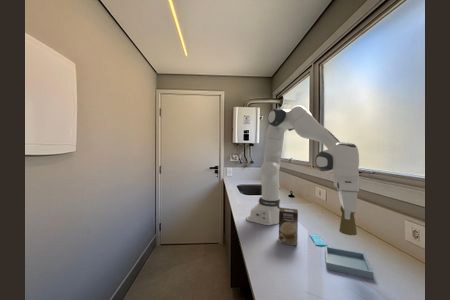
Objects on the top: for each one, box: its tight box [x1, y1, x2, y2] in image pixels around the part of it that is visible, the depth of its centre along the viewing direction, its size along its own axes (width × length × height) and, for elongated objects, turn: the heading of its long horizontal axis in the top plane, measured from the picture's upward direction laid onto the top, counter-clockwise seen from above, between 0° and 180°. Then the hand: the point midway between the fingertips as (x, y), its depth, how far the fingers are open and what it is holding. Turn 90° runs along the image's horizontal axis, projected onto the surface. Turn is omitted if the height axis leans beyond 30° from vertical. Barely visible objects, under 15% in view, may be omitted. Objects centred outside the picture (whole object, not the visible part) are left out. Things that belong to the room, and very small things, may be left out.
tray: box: [324, 245, 374, 280], centre depth 81 cm, size 15×14×2 cm
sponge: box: [309, 233, 329, 247], centre depth 101 cm, size 2×12×6 cm
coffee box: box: [278, 206, 299, 246], centre depth 100 cm, size 9×6×16 cm
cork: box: [339, 205, 358, 236], centre depth 80 cm, size 6×6×11 cm
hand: (346, 216), depth 80 cm, fingers closed on cork, 4 cm apart
